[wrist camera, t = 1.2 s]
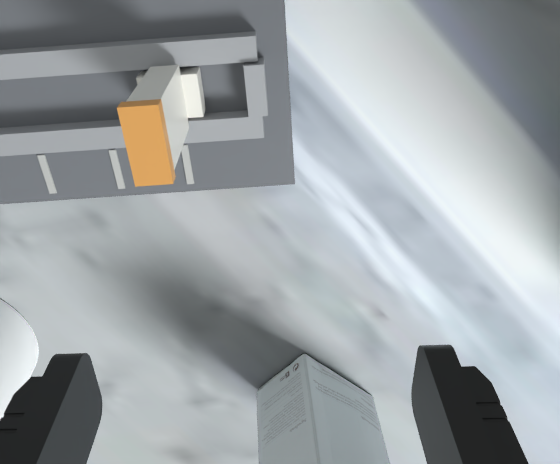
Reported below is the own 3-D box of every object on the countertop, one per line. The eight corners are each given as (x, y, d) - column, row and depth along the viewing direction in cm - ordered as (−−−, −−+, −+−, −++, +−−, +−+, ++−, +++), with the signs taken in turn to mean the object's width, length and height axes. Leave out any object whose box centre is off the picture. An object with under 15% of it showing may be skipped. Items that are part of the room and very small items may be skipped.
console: (280, -52, 26) (282, -46, 24) (293, 169, 33) (295, 195, 30) (-196, -16, 27) (-252, -5, 24) (-93, 195, 33) (-127, 224, 30)
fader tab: (198, 54, 27) (176, 103, 21) (207, 119, 29) (189, 182, 22) (139, 59, 27) (98, 109, 21) (151, 123, 29) (118, 187, 22)
